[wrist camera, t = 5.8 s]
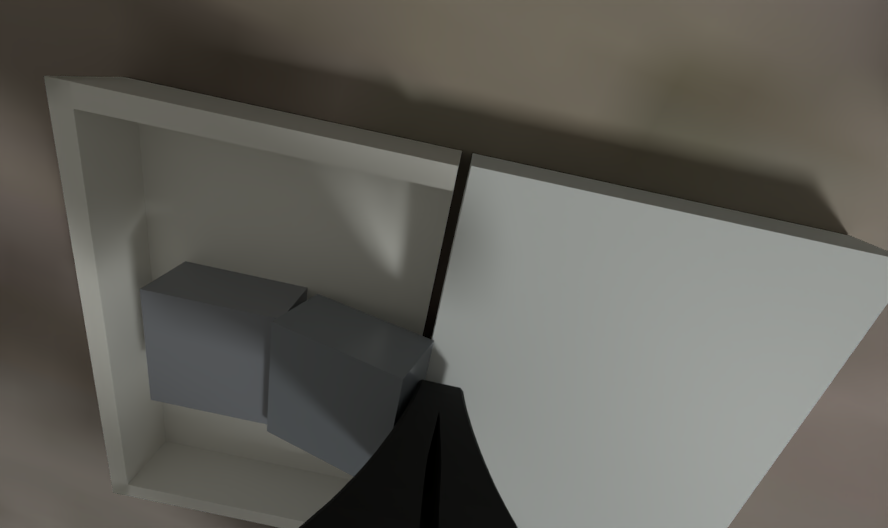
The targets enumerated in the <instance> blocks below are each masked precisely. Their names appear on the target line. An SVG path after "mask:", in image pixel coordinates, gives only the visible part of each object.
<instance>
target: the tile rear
mask: <svg viewBox="0 0 888 528" xmlns="http://www.w3.org/2000/svg"><path fill="white" fill-rule="evenodd" d="M307 290H308V288H307V287H303V286H298V285H293V284H289V283H284V282H279V281H275V280H270V279H265V278H261V277H256V276H252V275H247V274H242V273H238V272H233V271H228V270H224V269H219V268H214V267H210V266H205V265H200V264H196V263H191V262H187V261H185V262H183V263H182V264H180V265H178V266H177V267H175V268H173V269H172V270H170V271H168V272H167V273H165V274H164V275H162V276H160V277H159V278H157V279H155V280H154V281H152V282H150V283H149V284H147V285H145V286H144V287H142V288H140V298H141V308H142V318H143V328H144V338H145V348H146V357H147V367H148V377H149V387H150V397H151V400H154V401H159V402H164V403H168V404H173V405H178V406H182V407H187V408H192V409H196V410H201V411H206V412H211V413H215V414H220V415H225V416H229V417H234V418H239V419H243V420H248V421H253V422H258V423H262V424H267V416H268V392H269V368H270V344H271V321H273V320H275V319H276V318H278V317H280V316H281V315H283V314H285V313H286V312H288V311H290V310H291V309H293V308H295V307H296V306H298V305H300V304H301V303H303V302H305V301H306V300H307Z"/></svg>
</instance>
